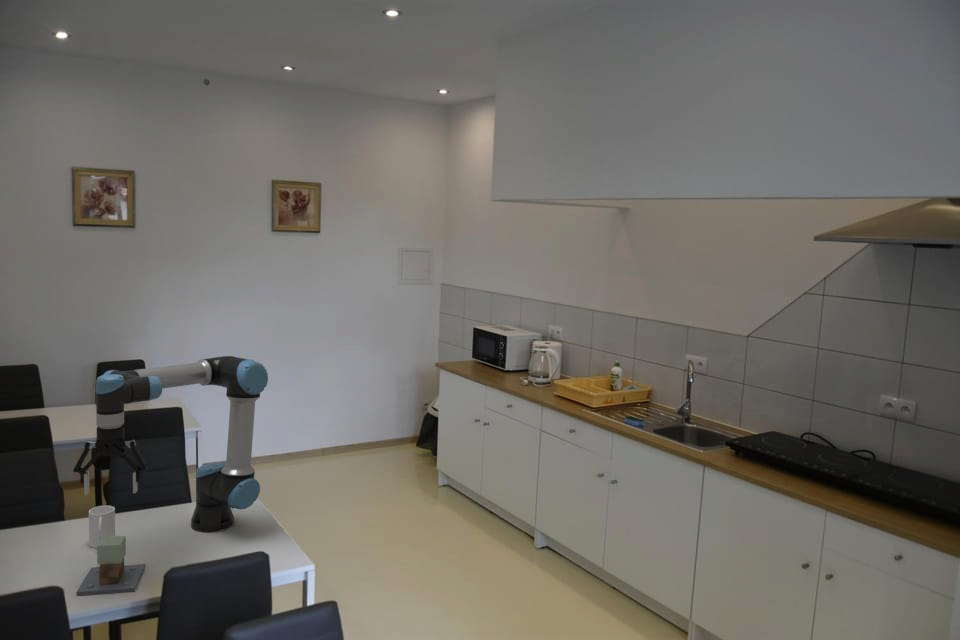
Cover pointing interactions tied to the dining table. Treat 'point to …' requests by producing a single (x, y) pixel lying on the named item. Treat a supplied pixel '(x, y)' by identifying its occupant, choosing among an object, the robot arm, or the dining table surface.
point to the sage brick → (111, 550)
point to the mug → (101, 524)
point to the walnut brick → (110, 573)
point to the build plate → (125, 584)
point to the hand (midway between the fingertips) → (111, 492)
